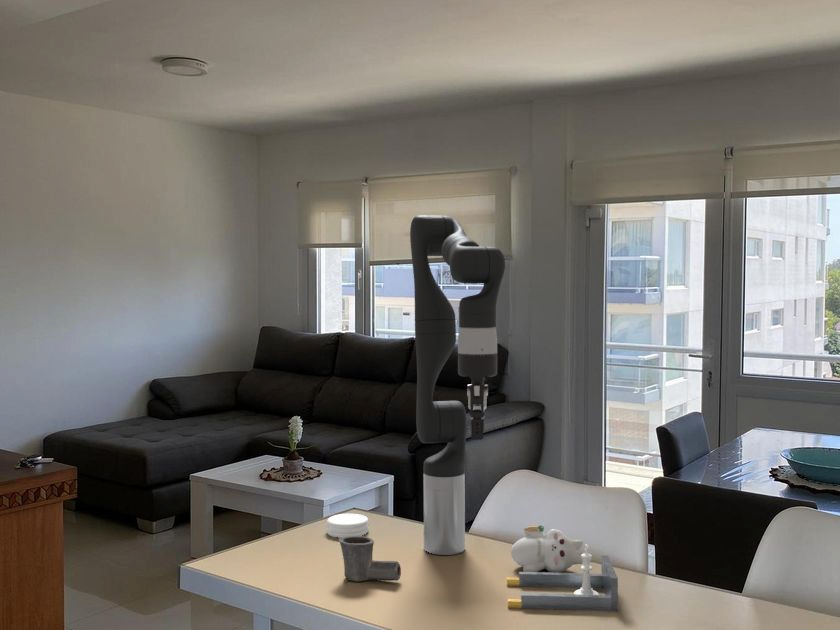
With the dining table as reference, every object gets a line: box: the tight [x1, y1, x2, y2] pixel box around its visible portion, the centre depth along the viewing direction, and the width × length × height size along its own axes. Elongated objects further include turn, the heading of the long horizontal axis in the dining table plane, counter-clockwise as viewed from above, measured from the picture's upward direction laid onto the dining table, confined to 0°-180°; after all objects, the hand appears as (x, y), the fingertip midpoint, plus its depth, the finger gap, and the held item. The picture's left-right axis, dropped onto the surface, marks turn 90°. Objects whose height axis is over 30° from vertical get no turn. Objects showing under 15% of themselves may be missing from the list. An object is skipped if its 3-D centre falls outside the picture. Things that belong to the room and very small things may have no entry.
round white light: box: [326, 513, 370, 539], centre depth 190 cm, size 10×10×4 cm
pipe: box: [338, 535, 402, 582], centre depth 158 cm, size 6×13×8 cm, turn 74°
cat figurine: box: [510, 524, 584, 573], centre depth 163 cm, size 10×8×15 cm
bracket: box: [506, 555, 619, 612], centre depth 148 cm, size 12×20×6 cm, turn 85°
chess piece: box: [573, 544, 600, 595], centre depth 148 cm, size 5×5×10 cm
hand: (477, 435), depth 151 cm, fingers open, 8 cm apart
